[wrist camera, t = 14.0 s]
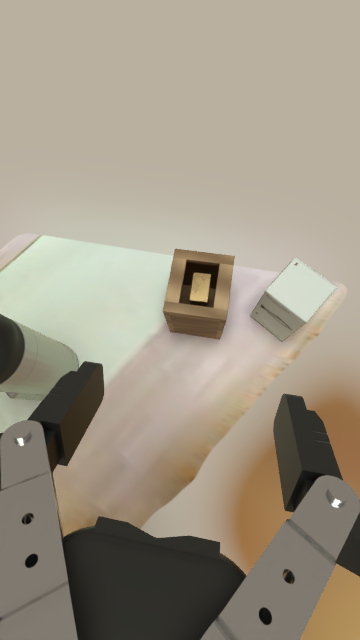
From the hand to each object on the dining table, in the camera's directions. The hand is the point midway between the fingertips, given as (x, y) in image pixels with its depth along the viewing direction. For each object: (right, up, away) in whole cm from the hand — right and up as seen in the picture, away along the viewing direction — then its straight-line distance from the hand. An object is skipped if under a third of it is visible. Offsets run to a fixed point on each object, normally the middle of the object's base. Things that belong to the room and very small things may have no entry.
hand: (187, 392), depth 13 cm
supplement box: (+17, +4, +41) cm, 44 cm away
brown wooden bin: (+3, +5, +42) cm, 42 cm away
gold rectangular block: (+3, +5, +41) cm, 41 cm away
